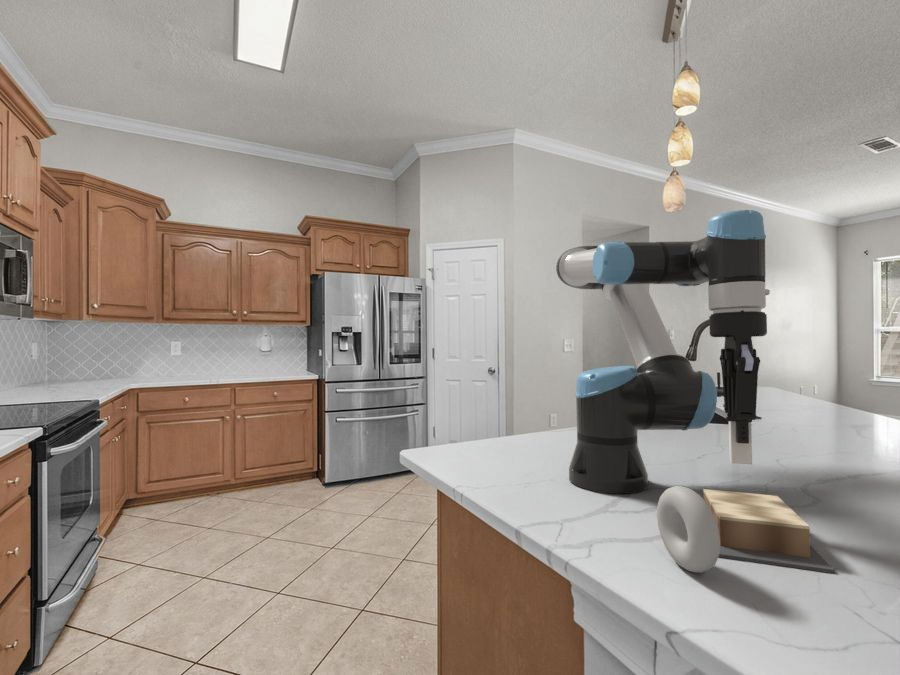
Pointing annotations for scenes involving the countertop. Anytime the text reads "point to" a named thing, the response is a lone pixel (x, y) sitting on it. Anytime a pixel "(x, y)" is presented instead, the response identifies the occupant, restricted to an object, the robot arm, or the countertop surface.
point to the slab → (758, 523)
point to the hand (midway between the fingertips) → (740, 462)
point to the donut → (688, 529)
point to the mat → (778, 558)
